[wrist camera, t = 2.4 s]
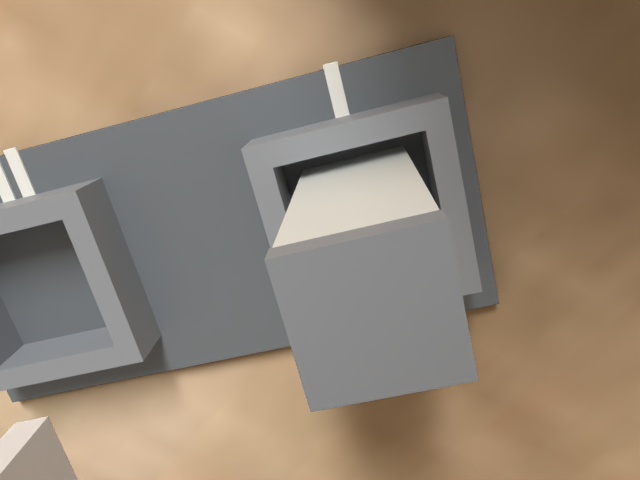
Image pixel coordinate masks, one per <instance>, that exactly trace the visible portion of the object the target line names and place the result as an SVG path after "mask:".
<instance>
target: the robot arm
mask: <svg viewBox="0 0 640 480" xmlns="http://www.w3.org/2000/svg"><path fill="white" fill-rule="evenodd" d="M0 480H78V479H77V477H76V475H75V473H74V471H73V468H72V466H71V464H70V462H69V460H68V458H67V456H66V453H65V451H64V449H63V447H62V445H61V443H60V441H59V438H58V436H57V434H56V432H55V430H54V428H53V426H52V423H51V421H50V419H49V417H48V416H47V417H42V418H37V419H32V420H27V421H23V422H18V423H14V425H13V426H12V427H11V428H10V429H9V430H8V431H7V432H6V433H5V434H4V436H3V437H2V438H1V439H0Z"/></svg>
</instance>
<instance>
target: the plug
mask: <svg viewBox="0 0 640 480" xmlns="http://www.w3.org/2000/svg"><path fill="white" fill-rule="evenodd" d="M264 260H265V264H266V267H267V270H268V273H269V277H270V280H271V283H272V287H273V290H274V293H275V296H276V300H277V303H278V306H279V310H280V313H281V316H282V319H283V323H284V326H285V329H286V333H287V336H288V339H289V342H290V346H291V349H292V352H293V356H294V359H295V362H296V365H297V369H298V372H299V375H300V379H301V382H302V385H303V388H304V392H305V395H306V398H307V402H308V405H309V408H310V411H311V412H314V411H320V410H325V409H330V408H336V407H341V406H346V405H352V404H357V403H363V402H368V401H373V400H379V399H384V398H389V397H395V396H400V395H406V394H411V393H416V392H422V391H427V390H432V389H438V388H443V387H449V386H454V385H459V384H465V383H470V382H475V381H479V379H478V374H477V369H476V364H475V359H474V353H473V348H472V343H471V338H470V332H469V327H468V322H467V317H466V312H465V306H464V301H463V296H462V291H461V285H460V280H459V275H458V270H457V265H456V259H455V254H454V249H453V244H452V238H451V233H450V228H449V223H448V218H447V216H446V215H445V213H444V211H443V210H442V209H441V210H439V208H438V206H437V204H436V203H435V201H434V199H433V197H432V195H431V194H430V192H429V190H428V188H427V187H426V185H425V183H424V181H423V180H422V178H421V176H420V174H419V173H418V171H417V169H416V167H415V166H414V164H413V162H412V160H411V159H410V157H409V155H408V153H407V151H406V150H405V148H404V146H399V147H395V148H391V149H387V150H383V151H379V152H375V153H370V154H366V155H362V156H358V157H354V158H350V159H346V160H342V161H338V162H334V163H329V164H325V165H321V166H317V167H313V168H309V169H305V170H303V171H302V174H301V176H300V179H299V181H298V184H297V186H296V189H295V191H294V194H293V196H292V199H291V201H290V204H289V206H288V209H287V211H286V214H285V217H284V219H283V222H282V224H281V227H280V229H279V232H278V234H277V237H276V239H275V242H274V244H273V247H272V248H269V249H268V252H267V254H266V257H265V259H264Z"/></svg>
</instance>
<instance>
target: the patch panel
mask: <svg viewBox="0 0 640 480" xmlns="http://www.w3.org/2000/svg"><path fill="white" fill-rule="evenodd" d="M323 68H324V70H321V71H317V72H313V73H309V74H306V75H302V76H298V77H294V78H290V79H287V80H283V81H279V82H275V83H272V84H268V85H264V86H260V87H257V88H253V89H249V90H245V91H242V92H238V93H234V94H230V95H227V96H223V97H219V98H215V99H211V100H208V101H204V102H200V103H196V104H193V105H189V106H185V107H181V108H178V109H174V110H170V111H166V112H163V113H159V114H155V115H151V116H148V117H144V118H140V119H136V120H132V121H129V122H125V123H121V124H117V125H114V126H110V127H106V128H102V129H99V130H95V131H91V132H87V133H84V134H80V135H76V136H72V137H69V138H65V139H61V140H57V141H53V142H50V143H46V144H42V145H38V146H35V147H31V148H27V149H23V150H20V151H18V149H17V147H13V148H10V149H6V150H3V152H4V154H5V155H1V156H0V391H3V390H7V392H8V394H9V396H10V398H11V400H12V402H17V401H22V400H27V399H32V398H37V397H42V396H47V395H52V394H56V393H61V392H66V391H71V390H76V389H81V388H86V387H91V386H96V385H101V384H106V383H111V382H116V381H121V380H126V379H130V378H135V377H140V376H145V375H150V374H155V373H160V372H165V371H170V370H175V369H180V368H185V367H190V366H195V365H200V364H205V363H209V362H214V361H219V360H224V359H229V358H234V357H239V356H244V355H249V354H254V353H259V352H264V351H269V350H274V349H279V348H283V347H288V346H290V342H289V339H288V336H287V333H286V329H285V326H284V323H283V319H282V316H281V313H280V310H279V306H278V303H277V300H276V296H275V293H274V290H273V287H272V283H271V280H270V277H269V273H268V270H267V267H266V264H265V260H264V259H265V257H266V254H267V252H268V249H269V248H272V247H273V244H274V242H275V239H276V237H277V234H278V232H279V229H280V227H281V224H282V222H283V219H284V217H285V214H286V211H287V209H288V206H289V204H290V201H291V199H292V196H293V194H294V191H295V189H296V186H297V184H298V181H299V179H300V176H301V174H302V171H303V170H305V169H309V168H313V167H317V166H321V165H325V164H329V163H334V162H338V161H342V160H346V159H350V158H354V157H358V156H362V155H366V154H370V153H375V152H379V151H383V150H387V149H391V148H395V147H399V146H404V148H405V150H406V151H407V153H408V155H409V157H410V159H411V160H412V162H413V164H414V166H415V167H416V169H417V171H418V173H419V174H420V176H421V178H422V180H423V181H424V183H425V185H426V187H427V188H428V190H429V192H430V194H431V195H432V197H433V199H434V201H435V203H436V204H437V206H438V208H439V210H441V209H442V210H443V211H444V213H445V215H446V216H447V218H448V223H449V228H450V233H451V238H452V244H453V249H454V254H455V259H456V265H457V270H458V275H459V280H460V285H461V291H462V296H463V301H464V306H465V311H466V310H471V309H476V308H481V307H486V306H491V305H496V304H499V301H498V295H497V289H496V283H495V277H494V271H493V266H492V260H491V254H490V248H489V242H488V236H487V230H486V224H485V219H484V213H483V207H482V201H481V195H480V189H479V183H478V177H477V172H476V166H475V160H474V154H473V148H472V142H471V136H470V131H469V125H468V119H467V113H466V107H465V101H464V95H463V89H462V84H461V78H460V72H459V66H458V60H457V54H456V48H455V42H454V37H453V36H449V37H445V38H441V39H437V40H433V41H430V42H426V43H422V44H418V45H415V46H411V47H407V48H403V49H400V50H396V51H392V52H388V53H385V54H381V55H377V56H373V57H369V58H366V59H362V60H358V61H354V62H351V63H347V64H343V65H339V66H338V63H337V61H336V62H332V63H328V64H324V65H323Z"/></svg>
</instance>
